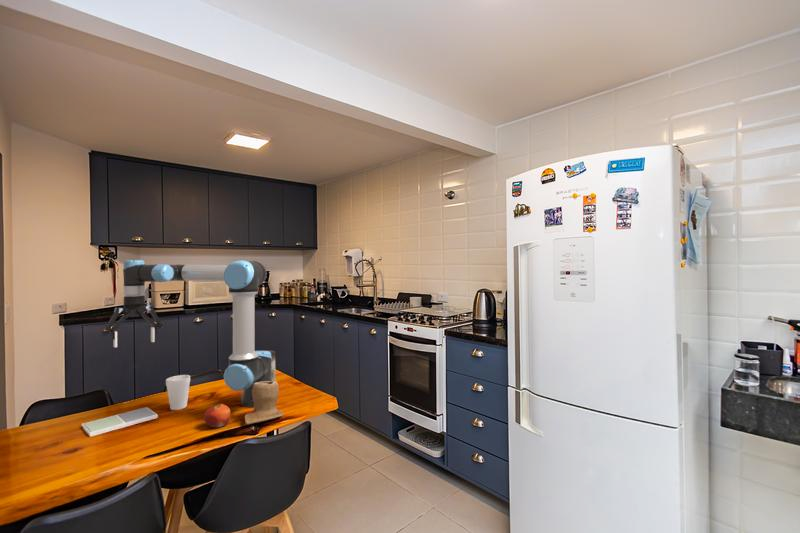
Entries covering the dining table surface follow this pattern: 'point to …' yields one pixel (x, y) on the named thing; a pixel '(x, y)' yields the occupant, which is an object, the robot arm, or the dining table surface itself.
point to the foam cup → (178, 391)
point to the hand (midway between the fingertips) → (134, 344)
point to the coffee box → (273, 364)
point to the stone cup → (264, 402)
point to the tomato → (217, 415)
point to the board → (118, 421)
